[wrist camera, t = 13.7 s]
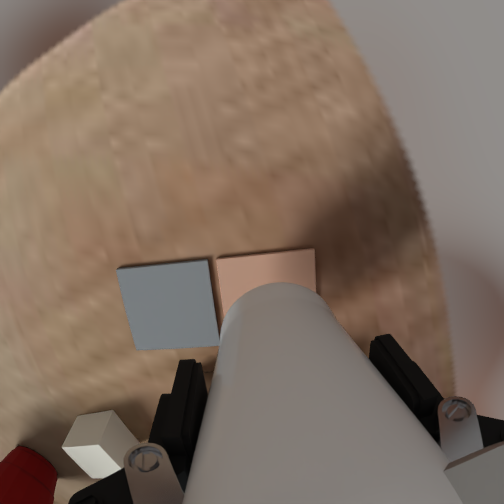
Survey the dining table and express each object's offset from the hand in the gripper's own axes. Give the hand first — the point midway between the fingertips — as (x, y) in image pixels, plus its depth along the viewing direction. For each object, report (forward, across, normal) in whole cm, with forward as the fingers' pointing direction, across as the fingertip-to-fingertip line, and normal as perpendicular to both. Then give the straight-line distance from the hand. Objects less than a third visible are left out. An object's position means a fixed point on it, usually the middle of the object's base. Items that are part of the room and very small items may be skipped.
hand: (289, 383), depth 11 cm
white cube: (+8, +14, +11) cm, 20 cm away
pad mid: (+8, +6, 0) cm, 10 cm away
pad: (+8, 0, 0) cm, 8 cm away
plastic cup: (+8, +27, +19) cm, 34 cm away
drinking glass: (+4, 0, 0) cm, 4 cm away
